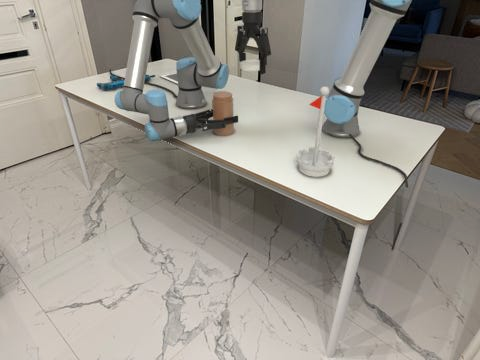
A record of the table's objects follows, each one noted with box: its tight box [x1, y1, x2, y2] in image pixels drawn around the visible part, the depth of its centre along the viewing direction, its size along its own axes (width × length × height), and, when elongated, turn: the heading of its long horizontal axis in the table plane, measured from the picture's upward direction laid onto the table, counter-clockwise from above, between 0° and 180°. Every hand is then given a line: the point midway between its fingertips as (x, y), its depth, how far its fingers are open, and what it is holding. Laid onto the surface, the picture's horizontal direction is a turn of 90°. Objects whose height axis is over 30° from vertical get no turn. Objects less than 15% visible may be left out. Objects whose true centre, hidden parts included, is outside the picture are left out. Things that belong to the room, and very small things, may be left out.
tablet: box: [159, 71, 178, 85], centre depth 214 cm, size 32×20×1 cm, turn 41°
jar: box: [211, 90, 235, 136], centre depth 145 cm, size 9×9×17 cm
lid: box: [239, 58, 260, 72], centre depth 137 cm, size 10×10×2 cm
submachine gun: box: [96, 74, 156, 91], centre depth 208 cm, size 34×4×25 cm
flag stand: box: [296, 86, 335, 178], centre depth 114 cm, size 13×13×30 cm
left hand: (232, 115), depth 148 cm, fingers closed on jar, 9 cm apart
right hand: (252, 71), depth 138 cm, fingers closed on lid, 10 cm apart
